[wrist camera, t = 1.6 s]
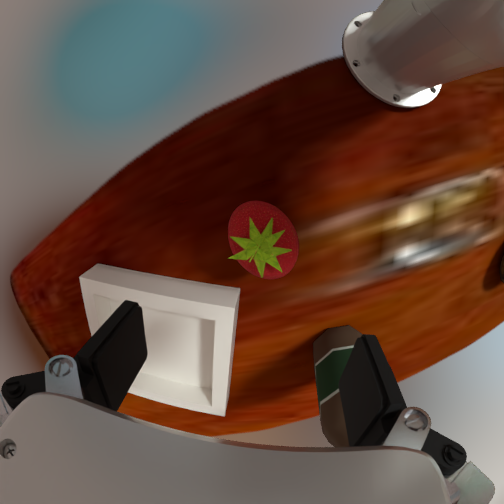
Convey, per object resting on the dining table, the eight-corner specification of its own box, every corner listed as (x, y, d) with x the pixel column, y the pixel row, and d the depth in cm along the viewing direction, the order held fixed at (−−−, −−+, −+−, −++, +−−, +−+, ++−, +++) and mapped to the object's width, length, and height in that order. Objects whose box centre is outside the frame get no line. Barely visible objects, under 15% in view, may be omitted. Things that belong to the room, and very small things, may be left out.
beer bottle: (302, 361, 36) (310, 527, 13) (322, 318, 33) (355, 505, 10) (351, 369, 36) (383, 518, 13) (374, 327, 33) (435, 488, 10)
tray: (97, 263, 33) (79, 276, 29) (240, 288, 32) (234, 308, 28) (117, 367, 40) (106, 384, 36) (229, 395, 39) (224, 416, 35)
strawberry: (260, 266, 31) (253, 313, 22) (224, 209, 29) (199, 236, 20) (306, 240, 30) (319, 280, 20) (271, 181, 28) (268, 194, 19)
